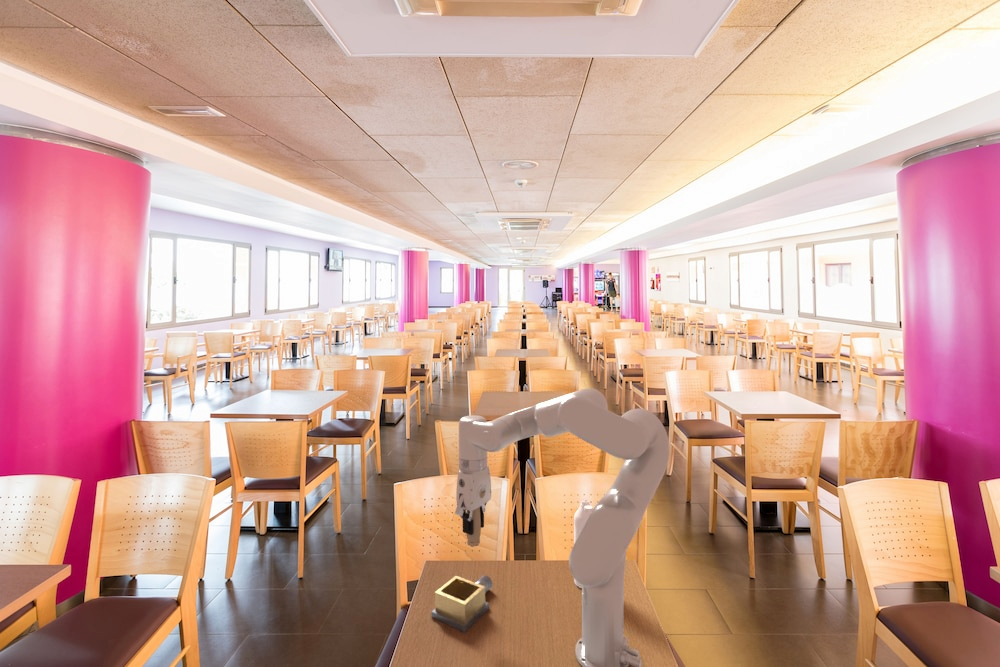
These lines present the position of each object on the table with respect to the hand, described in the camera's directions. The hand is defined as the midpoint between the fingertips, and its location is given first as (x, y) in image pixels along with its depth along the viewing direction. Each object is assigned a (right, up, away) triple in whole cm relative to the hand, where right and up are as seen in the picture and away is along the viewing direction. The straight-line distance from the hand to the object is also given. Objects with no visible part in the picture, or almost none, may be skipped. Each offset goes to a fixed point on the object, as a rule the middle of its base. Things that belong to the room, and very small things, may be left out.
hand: (473, 529), depth 127 cm
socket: (-2, -23, +4) cm, 23 cm away
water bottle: (+32, -22, +12) cm, 41 cm away
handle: (0, -4, 0) cm, 4 cm away
